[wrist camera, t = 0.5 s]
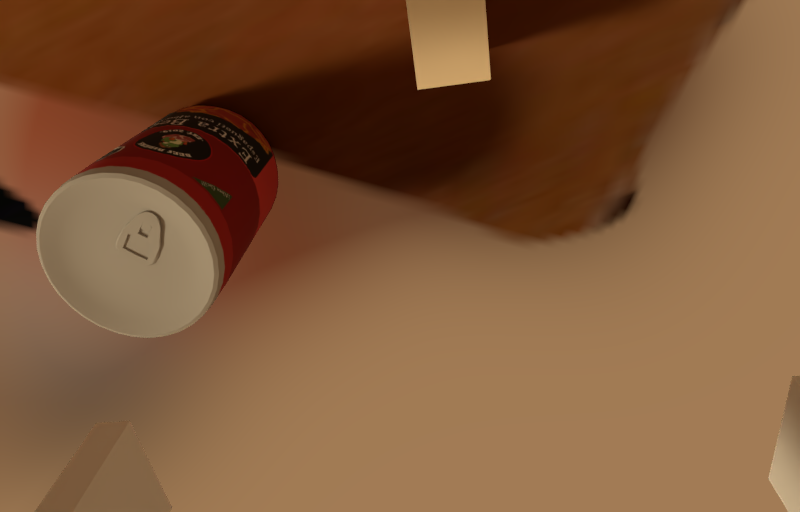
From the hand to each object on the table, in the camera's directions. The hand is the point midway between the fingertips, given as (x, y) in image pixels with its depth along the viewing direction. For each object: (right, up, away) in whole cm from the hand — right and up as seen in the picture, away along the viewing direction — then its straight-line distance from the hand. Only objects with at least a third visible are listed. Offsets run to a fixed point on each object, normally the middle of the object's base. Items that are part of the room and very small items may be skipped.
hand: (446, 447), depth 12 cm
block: (+1, +17, +16) cm, 24 cm away
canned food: (-12, +9, +22) cm, 26 cm away
